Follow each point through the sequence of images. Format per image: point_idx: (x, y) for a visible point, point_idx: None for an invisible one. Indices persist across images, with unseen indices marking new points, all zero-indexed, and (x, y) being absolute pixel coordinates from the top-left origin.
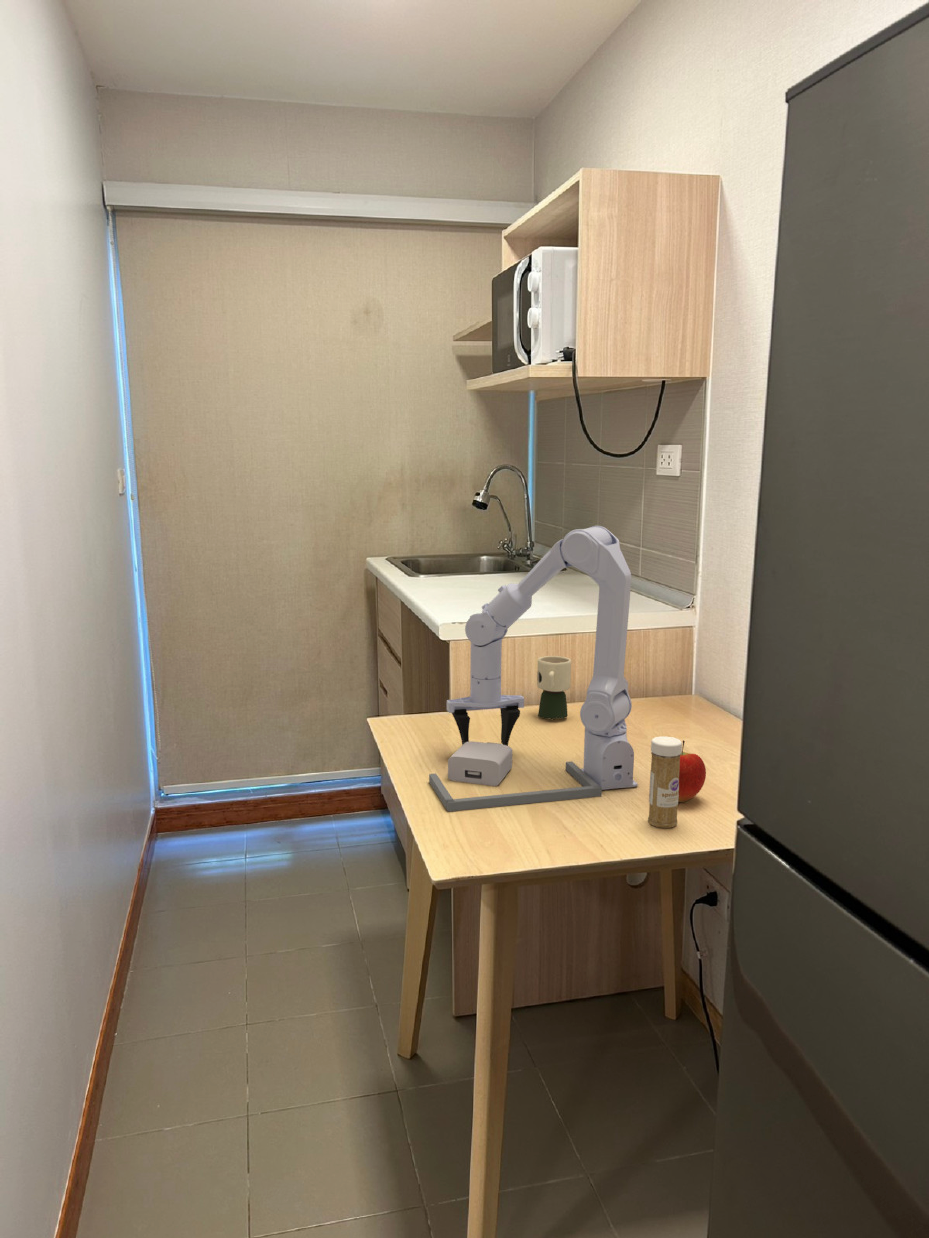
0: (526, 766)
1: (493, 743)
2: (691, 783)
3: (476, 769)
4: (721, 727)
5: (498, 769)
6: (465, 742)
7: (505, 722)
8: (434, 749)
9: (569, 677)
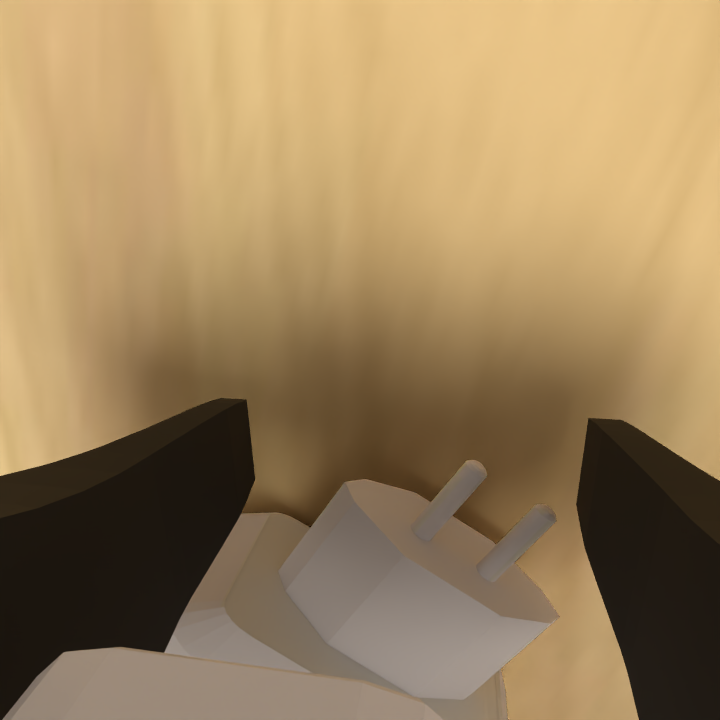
0: (621, 660)
1: (443, 594)
2: None
3: None
4: None
5: None
6: (171, 637)
7: (663, 703)
8: (54, 163)
9: None
